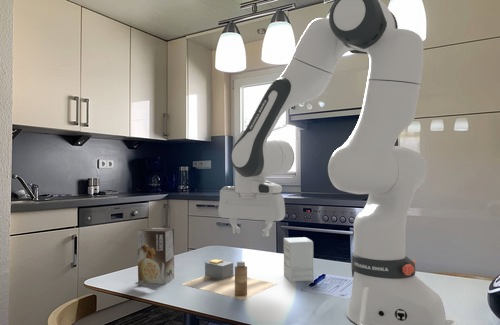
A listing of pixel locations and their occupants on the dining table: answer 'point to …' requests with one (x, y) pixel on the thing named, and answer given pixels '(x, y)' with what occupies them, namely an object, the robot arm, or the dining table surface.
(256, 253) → the dining table surface
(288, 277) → the supplement box
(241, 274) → the marker peg
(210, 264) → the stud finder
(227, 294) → the plywood board
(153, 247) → the brown food box
